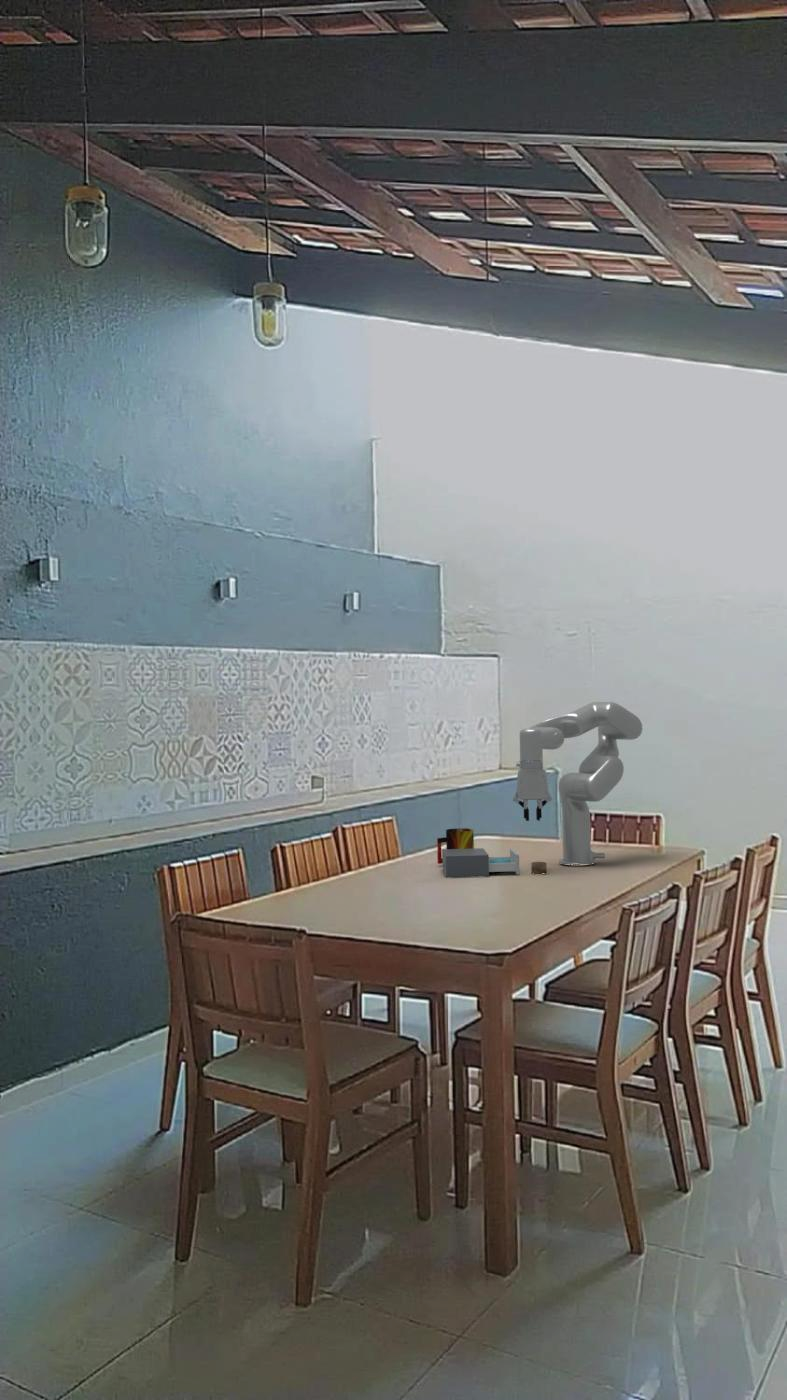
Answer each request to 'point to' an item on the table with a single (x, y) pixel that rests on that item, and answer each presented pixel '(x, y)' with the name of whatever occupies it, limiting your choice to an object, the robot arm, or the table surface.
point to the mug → (456, 840)
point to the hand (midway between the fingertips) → (532, 819)
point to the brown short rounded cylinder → (539, 867)
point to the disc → (500, 861)
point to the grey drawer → (506, 866)
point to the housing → (465, 862)
